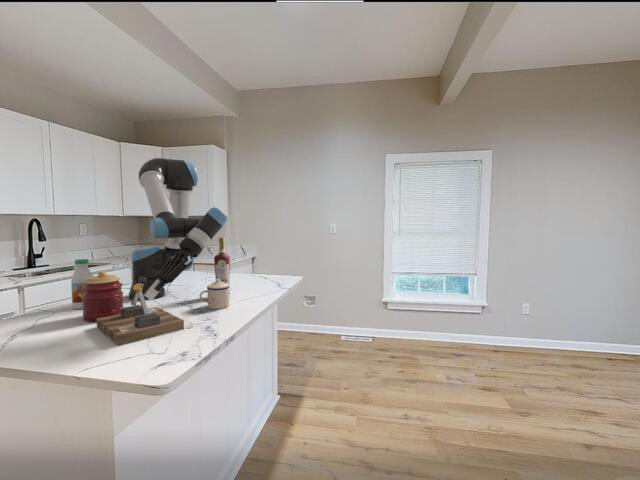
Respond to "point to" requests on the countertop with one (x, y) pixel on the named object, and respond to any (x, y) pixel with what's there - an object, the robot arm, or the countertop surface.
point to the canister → (102, 297)
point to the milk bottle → (79, 282)
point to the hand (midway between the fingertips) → (147, 297)
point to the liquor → (222, 263)
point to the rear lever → (141, 281)
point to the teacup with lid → (217, 295)
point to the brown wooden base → (138, 324)
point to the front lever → (141, 297)
